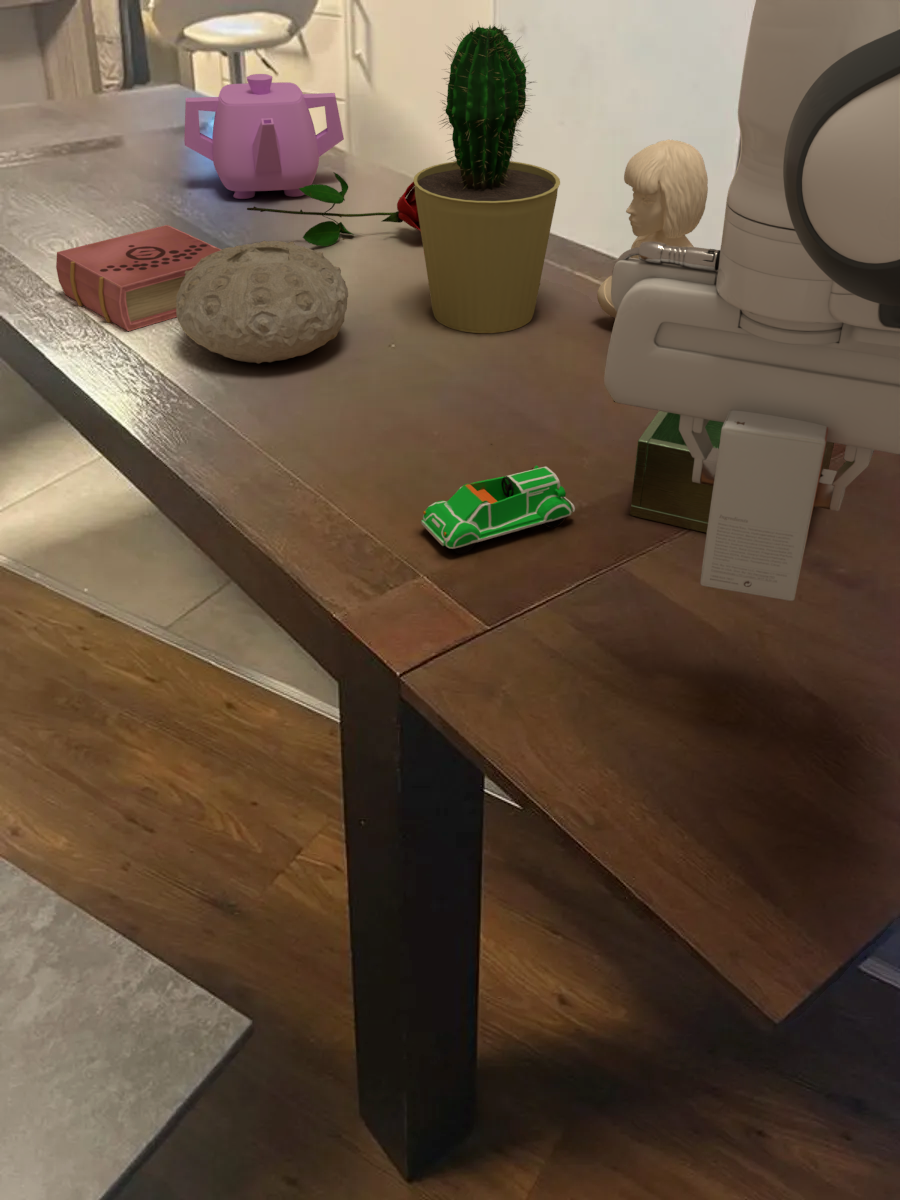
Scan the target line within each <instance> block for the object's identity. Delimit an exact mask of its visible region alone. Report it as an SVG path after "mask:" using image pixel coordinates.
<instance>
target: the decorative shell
mask: <svg viewBox="0 0 900 1200" xmlns="http://www.w3.org/2000/svg"><path fill="white" fill-rule="evenodd" d="M348 298H349V289H348V286H347V284H346V281H345V279H344V278H343V276H342V270H341V268H340V267H339V266H335V265H334V264H333V263H332V262H331V261H330V260H329V259H327V257H325V256H324V252H323V251H317V250H313V249H311V248H309V247H306V246H303V245H296V244H295V242H294V241H290V242H286V241H279V240H268V241H266V240H262V241H260V242H259V241H258V242H253V243H246V244H242V245H241V244H239V245H236V246H234V247H229V246H228V247H224V248H222V249H221V250H220V251H217V252H215V253H212V254H210V255H208V256H206V257H205V258H202V259H201V260H200V261H199V262H198V263H197V264H196V266H195V267H194V268H193V269H192V270H189V271H185V278H184V280H183V282H182V283H181V286H180V289H179V291H178V294H177V299H176V304H177V307H176V315H177V317H176V318H177V322H178V323H179V326H180V327H181V329H182V330H183V332H184V333H185V335H186V336H188V337H189V339H191V340H192V341H193V342H195V343H196V344H197V345H199V346H201V347H204V348H205V349H207V350H209V351H210V352H211V353H216V354H218V355H221V356H223V357H224V358H228V359H231V360H233V361H238V362H246V363H256V364H258V365H259V364H261V363H273V362H276V361H286V360H288V359H293V358H295V357H301V356H304V355H307V354H309V353H312V352H313V351H314V350H316V349H318V348H321V347H323V346H325V345H326V344H327V343H328V342H329V341H332V340H334V339H335V338H336V337H337V336H338V333H339V332H340V330H341V329H342V327H343V324H344V322H345V315H346V312H347V310H348Z"/></svg>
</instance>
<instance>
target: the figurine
mask: <svg viewBox="0 0 900 1200" xmlns="http://www.w3.org/2000/svg"><path fill="white" fill-rule="evenodd" d="M623 181H624V183H625V184H626V185H628V186H629V187H631V188H632V189H631V191H632V192H633V193H632V200H631V201H630V204H629V206H627V208H626V210H625V213H626V214H628V215H629V217H628V220H629V223H630V226H631V231H632V233H633V235H634V236H635V239H634V240H633V242H632V244H631V246H630V249H632V248H637V247H640V245H641V243H643V242H660V243H664V244H666V245H668V246H673V247H674V246H677V247H695V246H694V245H693V243H692V242H691V241H690V240H689V238H688V237H687V235H688V234H690V233H692V232H694V230H696V228H697V227H698V225H699V224H700V222H701V220H702V217H703V216H704V213H705V210H706V203H707V199H708V192H709V187H708V183H709V179H708V173H707V169H706V165H705V161H704V158H703V155H702V154H701V153H700V151H699V150H698V149H697V148H696V147H694V146H693V145H691V144H690V143H687V142H684V141H681V140H676V139H666V140H660V141H657V142H656V143H653V144H650V145H648V146H646V147H644V148H643V149H641V150H640V151H638V152H637V153H635V154H634V155H633V156H632V157H630V158H629V160H628V162H627V164H626V166H625V170H624V174H623ZM630 258H636V259H639V256H638V255H635V256H632V257H630ZM611 285H612V275H609V276H608V277H607V278H606V279H605V280H604V281H603V282H602V283H601V284H600V286H599V287H598V289H597V292H596V298H597V302H598V304H599V306H600V308H601V309H602V311H603V312H604V313H605V314H607V315H608V316H610V317H612V318H614V319H615V318H616V315H617V311H616V310H615V308H614V306H613V303H612V299H611Z"/></svg>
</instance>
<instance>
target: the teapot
mask: <svg viewBox="0 0 900 1200" xmlns="http://www.w3.org/2000/svg"><path fill="white" fill-rule="evenodd" d="M337 101H338V100H337V97H336V93H335V92H323V93H322V92H321V93H320V92H319V93H303V91H302V89H301V88H300V87H299V85H297V84H296V83H293V82H288V81H287V82H286V81H285V82H283V81H282V82H273V76H272V75H270V74H267V73H253V74H249V75H247V76H246V82H245V83H229V84H226V85H223V87H222V88H221V89H220V91H219V94H218V96H201V97H199V96H198V97H196V96H195V97H185V107H184V108H185V109H184V114H185V115H184V139H183V141H184V146H185V147H187V148H189V149H190V150H192V151H194V152H195V153H197V154H199V155H201V156H203V157H204V158H207V159H208V160H210V161H211V162H212V163H213V166H214V169H215V172H216V174H217V176H218V178H219V179H220V181H221V183H222V185H223V186H224V188H225V189H227V190H229V191H231V192H234V194H233V198H235V199H239V200H245V199H252V198H254V197H255V196H256V195H255V194H256V192H268V191H269V192H270V191H272V192H273V191H283V192H284V195H285V196H287V197H292V198H293V197H295V198H296V197H302V196H304V195H305V194H304V193H303V192H302V191H301V190H300V189H299V188H303V187H305V186H309V185H313V183H314V180H315V178H316V176H317V171H318V168H319V163H320V157H322V156H323V155H324V154H325V153H327V152H329V151H330V150H332V149H333V148H334V147H335V146H337V145H338V144H340V143H341V142H343V140H344V139H345V138H344V131H343V127H342V122H341V118H340V112H339V106H338V102H337ZM321 107H324V112H325V122H326V128H324V129H323V130H321V131H320V132H318V133H317V134H316V129H315V125H314V122H313V118H312V115H311V112H310V109H316V108H321ZM199 111H202V112H211V113H213V112H214V119H213V126H212V138H211V137H209V136H207V135H205V134H204V133H201V132H200V131H201V130H200V129H201V128H200V113H199Z"/></svg>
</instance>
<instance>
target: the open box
mask: <svg viewBox="0 0 900 1200" xmlns="http://www.w3.org/2000/svg"><path fill="white" fill-rule="evenodd" d="M679 423H680V414H674V413H669V412H663V411H658V412H657V413H656V415H654V417H653V418H652V420H651V421H650V422H649V424H648V426H647V427H646V429H645V430H644V431H643V433H642V434H641V436H640V437H639V438H638V440H637V447H636V456H635V465H634V473H633V474H634V475H633V483H632V493H631V502H630V504H631V505H630V511H629V515H630V516H631V517H636V518H640V519H644V520H648V521H652V522H653V521H654V522H657V523H662V524H666V525H669V526H670V525H671V526H674V527H678V528H683V529H687V530H691V531H696V532H700V533H705V534H707V528H708V520H709V513H710V506H711V500H712V492H713V486H711V485H705V484H700V483H695V482H692V475H693V467H694V458H693V457H692V456H691V454H690V452H689V449H688V447H687V445H686V443H685V441H684V439H683V437H682V435H681V433H680V431H679ZM723 424H724V423H723V422H718V421H713V420H709V422H708V423H707V425H706V426H705V429H706V431H707V433H708V436H709V438H710V441H711V443H712V446H713V447H714V448H718V449H719V445H720V438H721V430H722V427H723ZM834 446H835V443H833V442H826V447H825V452H824V457H823V462H822V467H821V472H822V470H823V469H828V470H830V465H831V460H832V455H833V451H834ZM821 472H820V476H821ZM814 510H815V507H814V506H813V511H812V513H813V512H814Z"/></svg>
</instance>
